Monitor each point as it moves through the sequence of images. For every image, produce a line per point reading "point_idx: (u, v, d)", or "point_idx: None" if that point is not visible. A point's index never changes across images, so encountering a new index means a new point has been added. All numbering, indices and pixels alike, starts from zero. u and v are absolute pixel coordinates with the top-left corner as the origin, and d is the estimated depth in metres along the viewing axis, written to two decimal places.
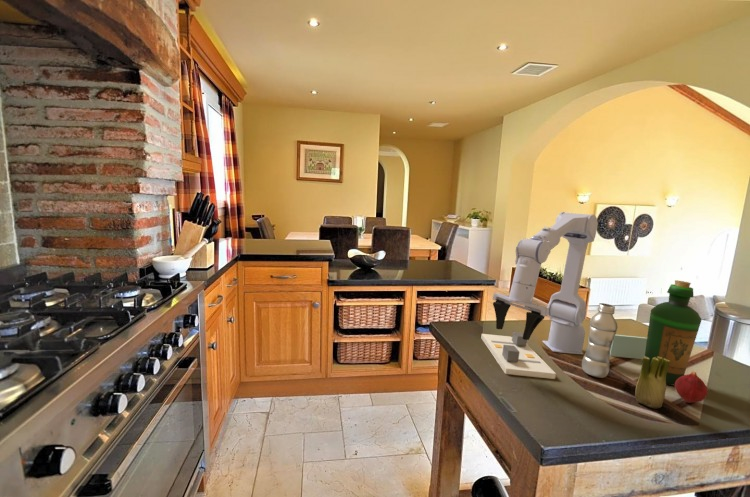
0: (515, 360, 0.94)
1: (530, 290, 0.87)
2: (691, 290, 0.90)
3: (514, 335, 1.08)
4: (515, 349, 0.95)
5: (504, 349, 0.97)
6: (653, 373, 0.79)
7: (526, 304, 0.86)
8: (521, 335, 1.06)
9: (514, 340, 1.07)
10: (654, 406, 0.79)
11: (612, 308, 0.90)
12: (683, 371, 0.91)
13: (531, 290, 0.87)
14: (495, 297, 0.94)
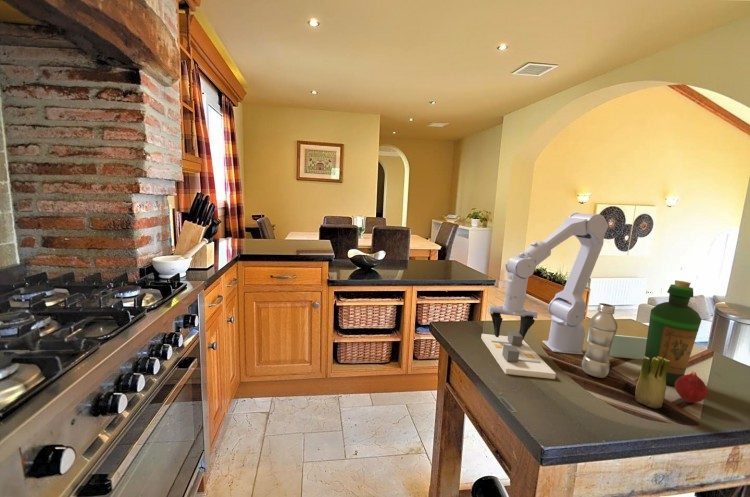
0: (515, 360, 0.94)
1: (524, 300, 1.04)
2: (691, 290, 0.90)
3: (509, 334, 1.08)
4: (515, 349, 0.95)
5: (504, 349, 0.97)
6: (653, 373, 0.79)
7: (525, 313, 1.04)
8: (517, 335, 1.06)
9: (510, 340, 1.07)
10: (654, 406, 0.79)
11: (612, 308, 0.90)
12: (683, 371, 0.91)
13: (524, 300, 1.05)
14: (492, 311, 1.05)
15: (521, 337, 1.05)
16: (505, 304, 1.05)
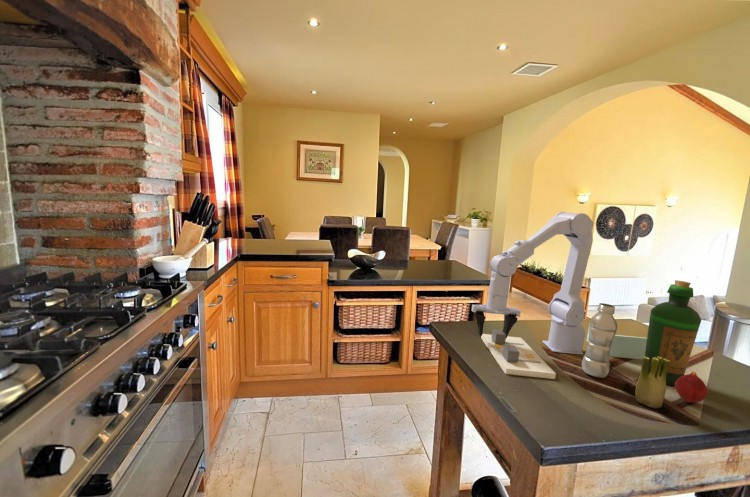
0: (515, 360, 0.94)
1: None
2: (691, 290, 0.90)
3: (493, 333, 1.08)
4: (515, 349, 0.95)
5: (504, 349, 0.97)
6: (653, 373, 0.79)
7: (508, 311, 1.04)
8: (500, 333, 1.06)
9: (493, 338, 1.07)
10: (654, 406, 0.79)
11: (612, 308, 0.90)
12: (683, 371, 0.91)
13: (507, 298, 1.05)
14: (475, 310, 1.06)
15: (504, 335, 1.05)
16: (488, 302, 1.05)
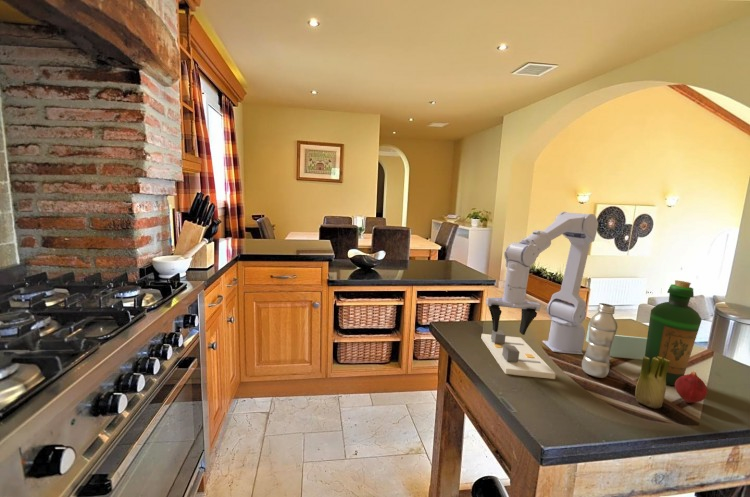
0: (515, 360, 0.94)
1: (525, 291, 0.94)
2: (691, 290, 0.90)
3: (492, 333, 1.08)
4: (515, 349, 0.95)
5: (504, 349, 0.97)
6: (653, 373, 0.79)
7: (526, 305, 0.94)
8: (499, 333, 1.06)
9: (493, 338, 1.07)
10: (654, 406, 0.79)
11: (612, 308, 0.90)
12: (683, 371, 0.91)
13: (525, 291, 0.95)
14: (490, 303, 0.96)
15: (504, 335, 1.05)
16: (504, 295, 0.95)
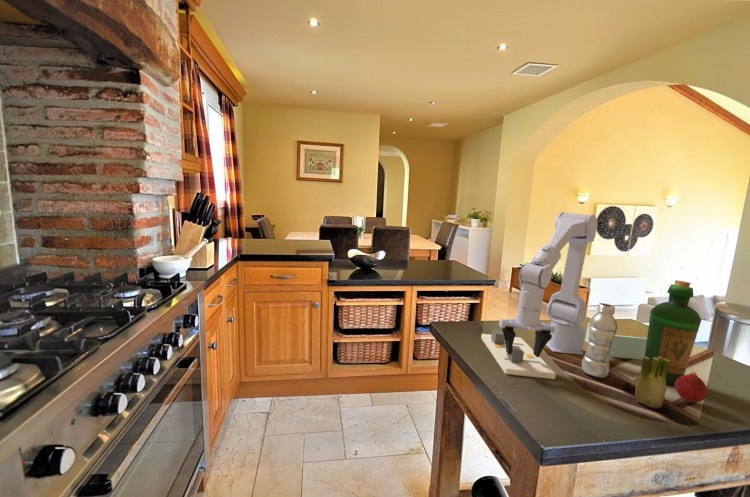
0: (519, 360, 0.94)
1: (540, 313, 0.93)
2: (691, 290, 0.90)
3: (492, 333, 1.08)
4: (519, 349, 0.95)
5: None
6: (653, 373, 0.79)
7: (541, 328, 0.92)
8: (499, 333, 1.06)
9: (493, 338, 1.07)
10: (654, 406, 0.79)
11: (612, 308, 0.90)
12: (683, 371, 0.91)
13: None
14: (504, 325, 0.94)
15: None
16: (518, 317, 0.94)
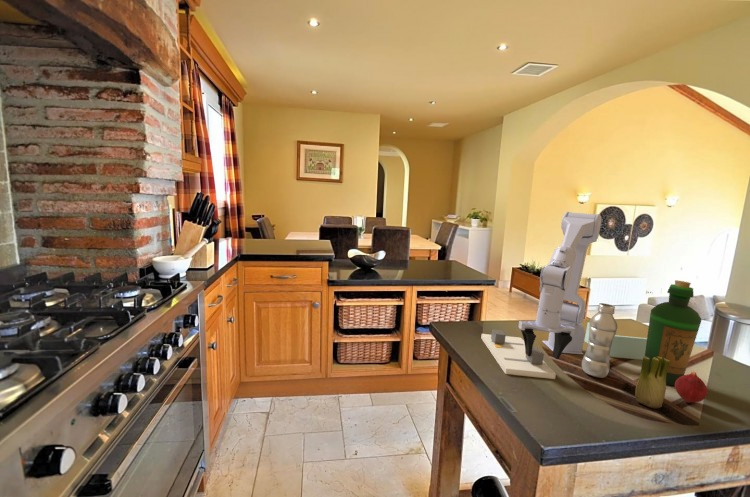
0: (539, 363, 0.94)
1: (560, 315, 0.92)
2: (691, 290, 0.90)
3: (492, 333, 1.08)
4: (539, 351, 0.95)
5: None
6: (653, 373, 0.79)
7: (561, 330, 0.92)
8: (499, 333, 1.06)
9: (493, 338, 1.07)
10: (654, 406, 0.79)
11: (612, 308, 0.90)
12: (683, 371, 0.91)
13: None
14: (524, 327, 0.93)
15: (504, 335, 1.05)
16: (538, 319, 0.93)
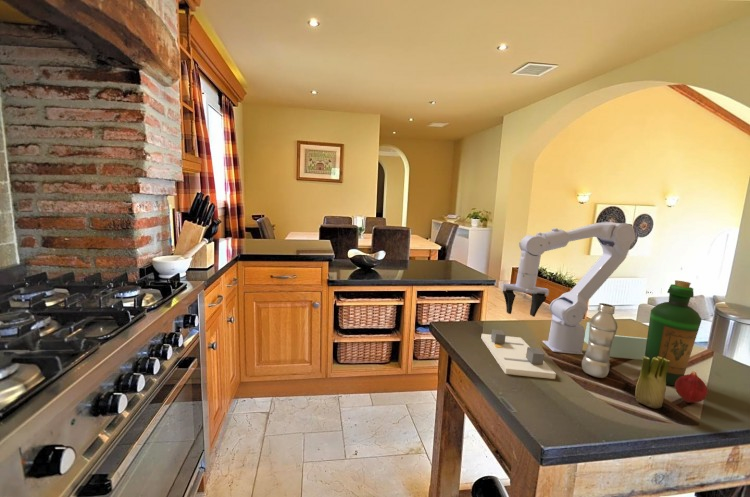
0: (540, 363, 0.94)
1: (536, 278, 1.07)
2: (691, 290, 0.90)
3: (492, 333, 1.08)
4: (540, 352, 0.95)
5: (528, 352, 0.96)
6: (653, 373, 0.79)
7: (537, 290, 1.07)
8: (499, 333, 1.06)
9: (493, 338, 1.07)
10: (654, 406, 0.79)
11: (612, 308, 0.90)
12: (683, 371, 0.91)
13: (536, 278, 1.07)
14: (505, 288, 1.08)
15: (504, 335, 1.05)
16: (518, 281, 1.08)
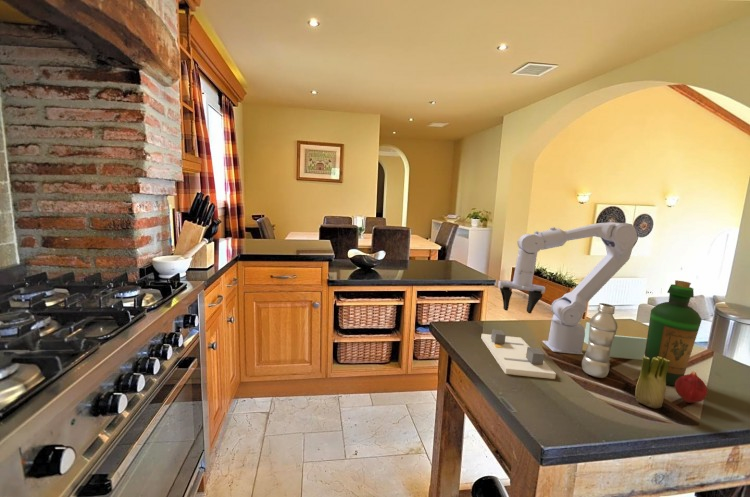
0: (540, 363, 0.94)
1: None
2: (691, 290, 0.90)
3: (492, 333, 1.08)
4: (540, 352, 0.95)
5: (528, 352, 0.96)
6: (653, 373, 0.79)
7: (533, 288, 1.09)
8: (499, 333, 1.06)
9: (493, 338, 1.07)
10: (654, 406, 0.79)
11: (612, 308, 0.90)
12: (683, 371, 0.91)
13: None
14: (502, 285, 1.10)
15: (504, 335, 1.05)
16: (515, 279, 1.10)
